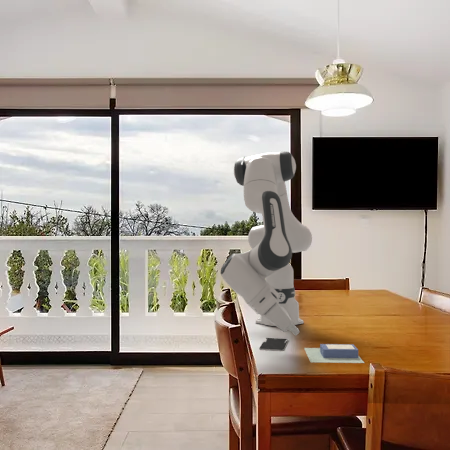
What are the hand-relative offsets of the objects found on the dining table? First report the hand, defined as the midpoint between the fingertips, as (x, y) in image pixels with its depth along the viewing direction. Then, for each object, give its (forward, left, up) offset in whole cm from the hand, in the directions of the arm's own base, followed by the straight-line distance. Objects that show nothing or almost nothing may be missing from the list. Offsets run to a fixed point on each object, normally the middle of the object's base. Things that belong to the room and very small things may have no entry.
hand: (297, 332), depth 146 cm
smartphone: (-12, -6, -8) cm, 16 cm away
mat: (0, +10, -7) cm, 13 cm away
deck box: (0, +7, -5) cm, 9 cm away
